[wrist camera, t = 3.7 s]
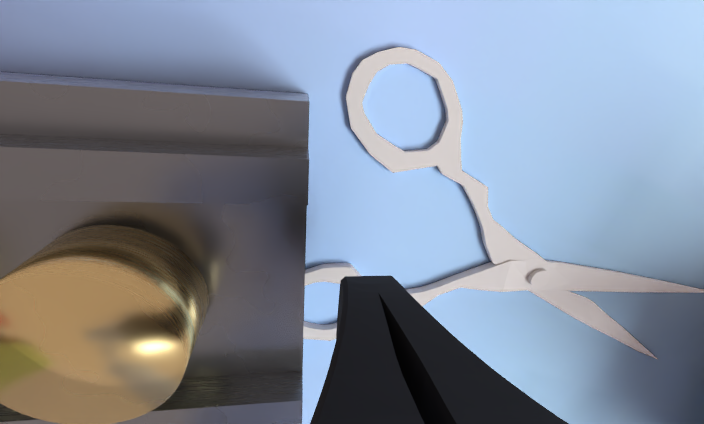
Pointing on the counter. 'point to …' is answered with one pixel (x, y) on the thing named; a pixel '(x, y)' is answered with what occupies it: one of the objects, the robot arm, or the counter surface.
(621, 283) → the scissors
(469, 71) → the counter surface
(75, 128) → the slot block
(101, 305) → the brass disc
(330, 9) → the counter surface
